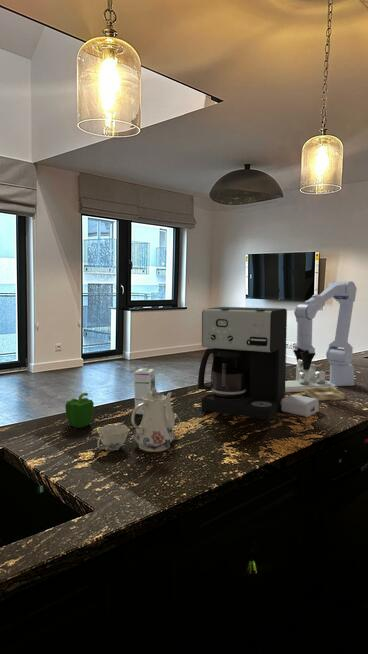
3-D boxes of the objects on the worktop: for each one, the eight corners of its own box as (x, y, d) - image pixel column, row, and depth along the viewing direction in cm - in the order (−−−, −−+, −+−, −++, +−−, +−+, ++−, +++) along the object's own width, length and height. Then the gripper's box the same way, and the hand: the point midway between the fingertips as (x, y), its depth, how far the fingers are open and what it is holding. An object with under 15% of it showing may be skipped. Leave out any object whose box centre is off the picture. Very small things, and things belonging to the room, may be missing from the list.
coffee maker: (189, 409, 156) (190, 308, 153) (212, 396, 173) (213, 305, 170) (268, 420, 143) (270, 310, 140) (285, 405, 160) (287, 307, 157)
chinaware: (160, 430, 139) (156, 376, 138) (203, 436, 128) (199, 378, 128) (88, 457, 117) (82, 394, 117) (133, 467, 107) (127, 397, 106)
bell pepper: (66, 431, 133) (65, 398, 132) (65, 422, 141) (64, 391, 140) (95, 428, 135) (94, 396, 134) (93, 420, 143) (92, 389, 142)
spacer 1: (306, 369, 182) (306, 358, 182) (310, 371, 178) (311, 360, 177) (295, 369, 182) (296, 358, 181) (300, 371, 177) (300, 360, 177)
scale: (319, 383, 196) (320, 363, 196) (334, 390, 184) (335, 369, 183) (271, 385, 192) (272, 365, 192) (283, 392, 180) (284, 371, 179)
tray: (330, 392, 180) (330, 387, 180) (345, 399, 169) (345, 393, 169) (304, 393, 178) (304, 388, 178) (317, 400, 167) (317, 395, 167)
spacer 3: (322, 381, 190) (322, 371, 190) (327, 383, 186) (327, 373, 186) (312, 381, 190) (312, 371, 189) (317, 384, 185) (317, 373, 185)
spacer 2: (306, 382, 189) (306, 371, 189) (311, 384, 185) (311, 373, 184) (296, 382, 188) (296, 371, 188) (301, 384, 184) (301, 374, 184)
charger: (279, 403, 163) (318, 411, 153) (265, 409, 156) (306, 417, 146) (279, 390, 162) (318, 398, 153) (266, 395, 155) (306, 403, 146)
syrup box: (151, 415, 149) (151, 371, 148) (134, 414, 150) (133, 371, 149) (155, 410, 155) (155, 368, 153) (139, 409, 156) (139, 367, 154)
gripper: (287, 332, 185) (287, 365, 186) (302, 336, 170) (302, 372, 172) (303, 332, 186) (303, 364, 187) (320, 336, 172) (319, 371, 173)
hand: (303, 368), depth 180 cm, fingers closed on spacer 1, 4 cm apart
